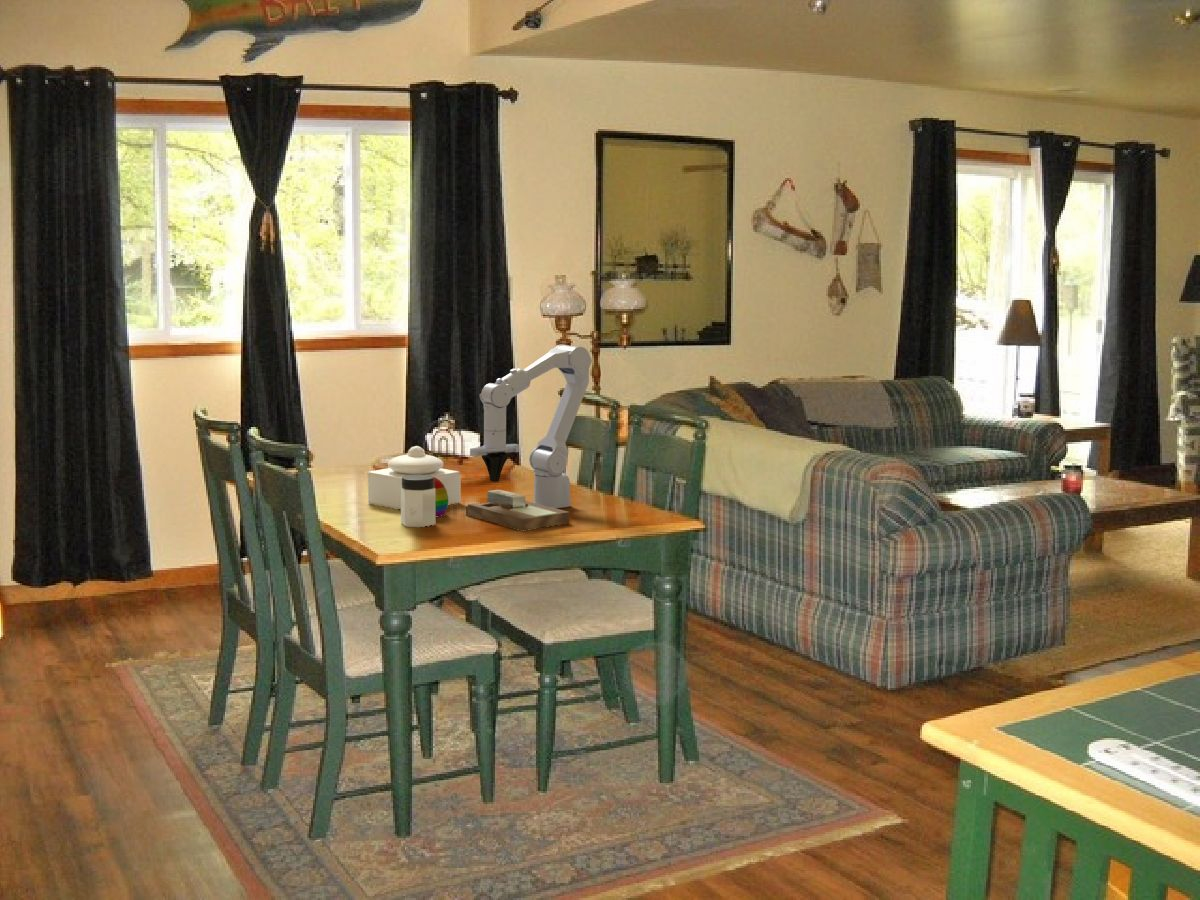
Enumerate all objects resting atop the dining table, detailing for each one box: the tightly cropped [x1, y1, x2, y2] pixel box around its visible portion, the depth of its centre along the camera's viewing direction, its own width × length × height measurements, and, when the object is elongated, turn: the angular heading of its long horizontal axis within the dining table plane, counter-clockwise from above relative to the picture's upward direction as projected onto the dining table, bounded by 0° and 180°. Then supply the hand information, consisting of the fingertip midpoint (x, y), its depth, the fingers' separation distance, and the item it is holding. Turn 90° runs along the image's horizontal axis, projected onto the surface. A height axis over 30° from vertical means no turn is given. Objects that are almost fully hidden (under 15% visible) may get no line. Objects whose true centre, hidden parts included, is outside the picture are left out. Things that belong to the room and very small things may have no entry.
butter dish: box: [366, 445, 462, 510], centre depth 359 cm, size 18×18×16 cm
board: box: [465, 500, 570, 532], centre depth 341 cm, size 15×24×4 cm, turn 41°
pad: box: [510, 506, 557, 517], centre depth 336 cm, size 7×10×1 cm
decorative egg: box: [434, 477, 449, 517], centre depth 344 cm, size 8×8×10 cm
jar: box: [400, 474, 437, 528], centre depth 333 cm, size 9×8×12 cm
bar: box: [486, 489, 526, 509], centre depth 344 cm, size 4×11×3 cm, turn 41°
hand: (494, 481), depth 348 cm, fingers closed
